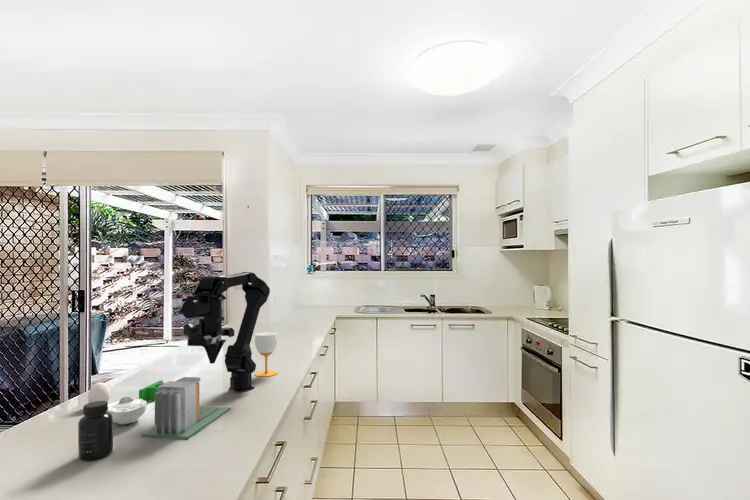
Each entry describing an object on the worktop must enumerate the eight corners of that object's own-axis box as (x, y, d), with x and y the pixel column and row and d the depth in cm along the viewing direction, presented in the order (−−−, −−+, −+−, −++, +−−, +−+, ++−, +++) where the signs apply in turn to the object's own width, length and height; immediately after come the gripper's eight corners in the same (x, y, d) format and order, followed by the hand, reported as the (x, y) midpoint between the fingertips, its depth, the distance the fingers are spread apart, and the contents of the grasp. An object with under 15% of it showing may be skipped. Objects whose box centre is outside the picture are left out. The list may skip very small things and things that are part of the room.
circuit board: (191, 407, 131) (191, 405, 131) (230, 409, 129) (230, 407, 129) (142, 436, 110) (142, 434, 110) (188, 439, 108) (188, 436, 108)
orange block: (183, 417, 121) (183, 382, 121) (199, 418, 120) (199, 382, 120) (178, 420, 119) (179, 384, 119) (195, 420, 118) (195, 384, 118)
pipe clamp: (149, 404, 135) (149, 390, 136) (138, 404, 136) (138, 390, 136) (170, 393, 147) (170, 380, 147) (159, 393, 147) (159, 380, 147)
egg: (82, 409, 131) (83, 384, 132) (101, 402, 137) (101, 379, 137) (96, 411, 129) (97, 386, 130) (115, 404, 135) (115, 380, 135)
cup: (274, 376, 166) (274, 335, 166) (251, 377, 166) (251, 336, 166) (279, 370, 175) (279, 331, 176) (258, 371, 175) (257, 332, 175)
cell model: (102, 433, 112) (103, 407, 113) (107, 418, 123) (107, 395, 123) (146, 426, 117) (146, 401, 117) (147, 412, 128) (147, 389, 128)
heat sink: (195, 410, 129) (195, 369, 129) (219, 411, 128) (219, 370, 128) (152, 436, 110) (152, 388, 110) (180, 437, 109) (180, 389, 109)
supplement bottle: (89, 449, 102) (89, 399, 103) (118, 448, 103) (118, 398, 103) (71, 462, 96) (71, 409, 96) (102, 461, 96) (103, 408, 96)
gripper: (205, 311, 147) (205, 356, 147) (171, 318, 129) (171, 369, 129) (235, 311, 146) (235, 357, 145) (205, 318, 127) (205, 370, 127)
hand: (212, 363), depth 137 cm, fingers closed
